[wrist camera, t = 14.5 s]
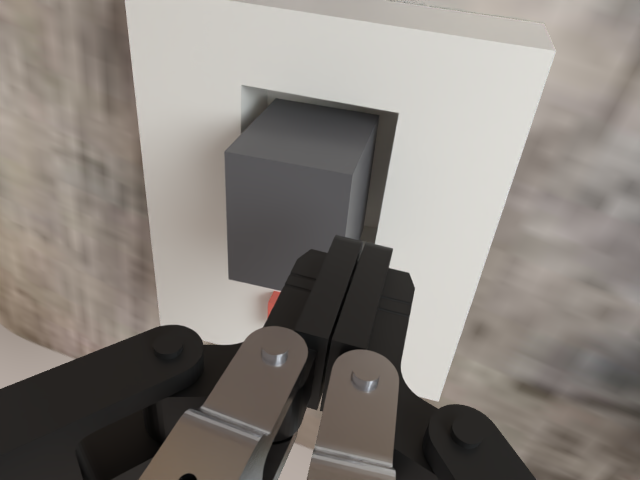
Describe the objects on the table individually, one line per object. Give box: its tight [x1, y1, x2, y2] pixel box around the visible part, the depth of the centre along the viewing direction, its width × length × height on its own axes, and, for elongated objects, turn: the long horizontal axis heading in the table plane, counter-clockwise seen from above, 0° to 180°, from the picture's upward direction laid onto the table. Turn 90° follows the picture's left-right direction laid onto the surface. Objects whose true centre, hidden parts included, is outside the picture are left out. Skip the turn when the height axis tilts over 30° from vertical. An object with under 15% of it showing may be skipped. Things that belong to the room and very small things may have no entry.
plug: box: [224, 98, 379, 291], centre depth 20 cm, size 5×4×6 cm
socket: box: [125, 0, 556, 401], centre depth 23 cm, size 16×14×5 cm
